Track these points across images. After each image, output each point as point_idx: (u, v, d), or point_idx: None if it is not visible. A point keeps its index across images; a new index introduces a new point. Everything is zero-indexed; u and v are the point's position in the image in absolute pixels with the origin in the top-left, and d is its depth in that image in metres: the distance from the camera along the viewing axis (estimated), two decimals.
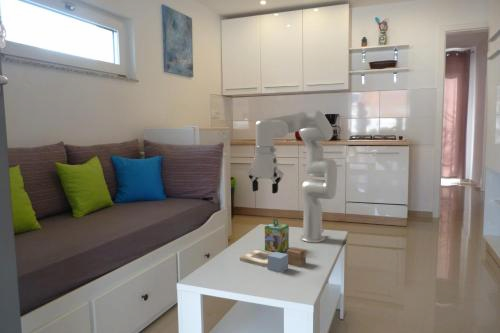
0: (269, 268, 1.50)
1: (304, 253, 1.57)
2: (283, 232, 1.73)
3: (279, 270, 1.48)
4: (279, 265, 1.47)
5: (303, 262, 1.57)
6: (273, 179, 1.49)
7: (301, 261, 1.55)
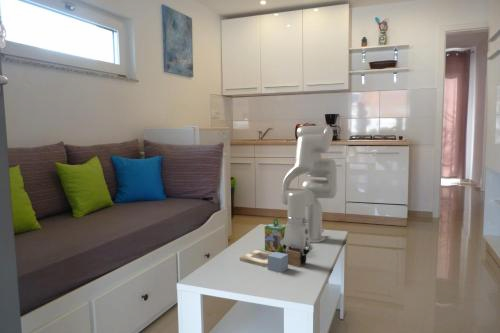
0: (269, 268, 1.50)
1: None
2: (283, 232, 1.73)
3: (279, 270, 1.48)
4: (279, 265, 1.47)
5: None
6: (302, 251, 1.54)
7: None
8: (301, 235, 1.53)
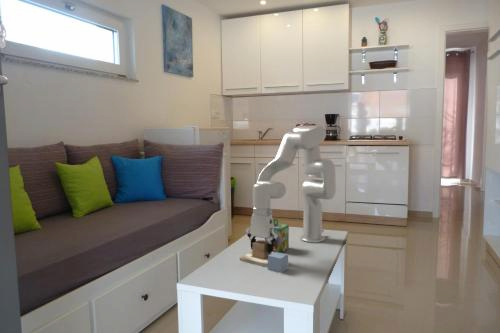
0: (269, 268, 1.50)
1: None
2: (283, 232, 1.73)
3: (279, 270, 1.48)
4: (279, 265, 1.47)
5: None
6: (269, 240, 1.59)
7: (266, 253, 1.61)
8: (265, 225, 1.58)
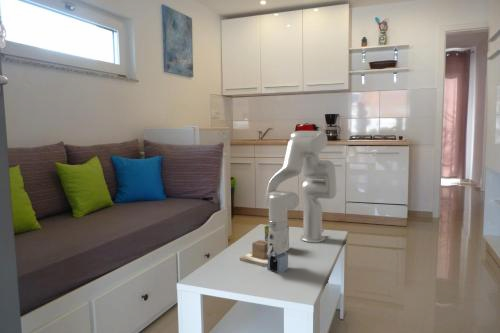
0: (269, 268, 1.50)
1: None
2: None
3: (279, 270, 1.48)
4: (279, 265, 1.47)
5: None
6: None
7: (266, 253, 1.61)
8: None
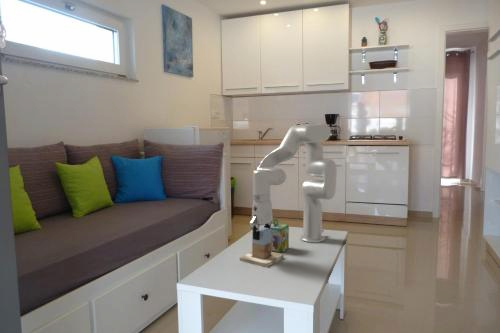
0: (253, 241, 1.62)
1: (269, 245, 1.62)
2: (283, 232, 1.73)
3: (262, 242, 1.59)
4: (262, 238, 1.59)
5: (268, 255, 1.62)
6: None
7: (266, 253, 1.61)
8: None
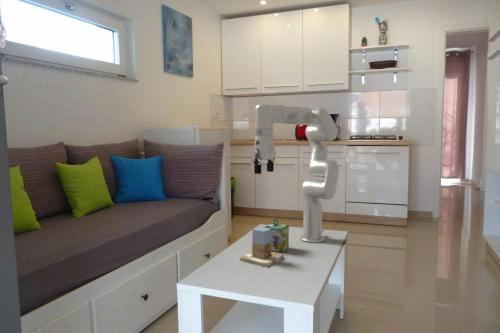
0: (253, 241, 1.62)
1: (269, 245, 1.62)
2: (283, 232, 1.73)
3: (262, 242, 1.59)
4: (262, 238, 1.59)
5: (268, 255, 1.62)
6: None
7: (266, 253, 1.61)
8: None
